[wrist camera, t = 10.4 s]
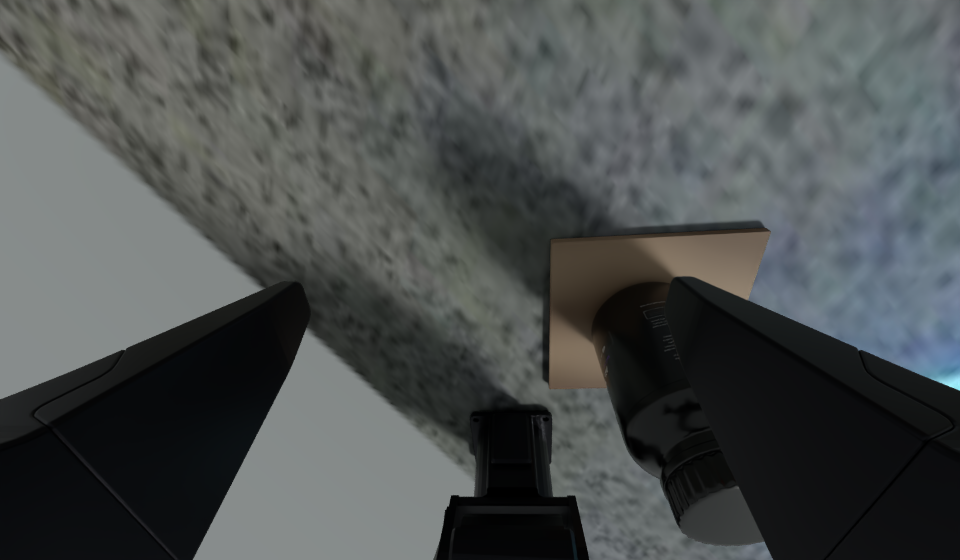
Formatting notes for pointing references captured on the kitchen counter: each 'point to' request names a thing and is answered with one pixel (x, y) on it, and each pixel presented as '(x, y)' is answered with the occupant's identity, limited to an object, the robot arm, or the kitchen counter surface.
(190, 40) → the kitchen counter surface
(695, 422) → the supplement bottle
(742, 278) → the tan board
